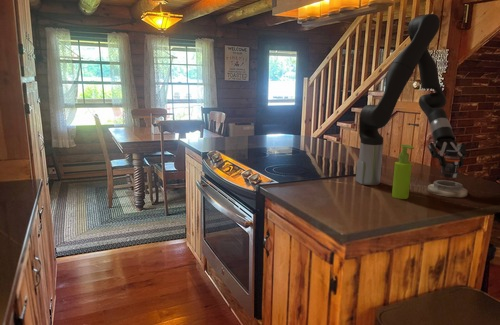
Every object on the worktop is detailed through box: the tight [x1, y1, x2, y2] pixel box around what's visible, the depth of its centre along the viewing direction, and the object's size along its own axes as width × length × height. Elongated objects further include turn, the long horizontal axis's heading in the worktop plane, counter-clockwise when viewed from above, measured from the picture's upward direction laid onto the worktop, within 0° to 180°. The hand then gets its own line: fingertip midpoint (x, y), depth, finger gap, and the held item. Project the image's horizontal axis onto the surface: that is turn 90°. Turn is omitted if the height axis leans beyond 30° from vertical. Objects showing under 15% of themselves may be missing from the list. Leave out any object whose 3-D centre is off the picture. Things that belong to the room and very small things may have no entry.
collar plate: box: [427, 179, 469, 198], centre depth 147 cm, size 14×14×4 cm
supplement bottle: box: [440, 150, 460, 181], centre depth 145 cm, size 6×6×11 cm
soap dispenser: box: [391, 144, 415, 200], centre depth 138 cm, size 6×7×20 cm
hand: (452, 166), depth 144 cm, fingers closed on supplement bottle, 6 cm apart
